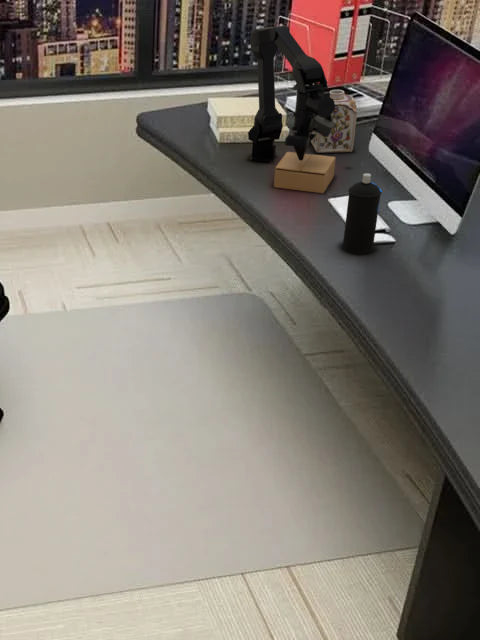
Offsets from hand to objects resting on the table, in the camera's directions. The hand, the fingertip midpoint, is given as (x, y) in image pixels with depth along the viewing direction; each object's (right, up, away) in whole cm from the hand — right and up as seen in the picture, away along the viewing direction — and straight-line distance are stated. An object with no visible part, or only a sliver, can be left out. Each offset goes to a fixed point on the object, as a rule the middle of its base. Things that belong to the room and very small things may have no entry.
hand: (301, 159), depth 296 cm
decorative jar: (+16, +11, +27) cm, 33 cm away
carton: (+2, -6, +3) cm, 7 cm away
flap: (-2, 0, +1) cm, 2 cm away
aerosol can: (+7, -32, -35) cm, 48 cm away
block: (-1, -5, +4) cm, 6 cm away
